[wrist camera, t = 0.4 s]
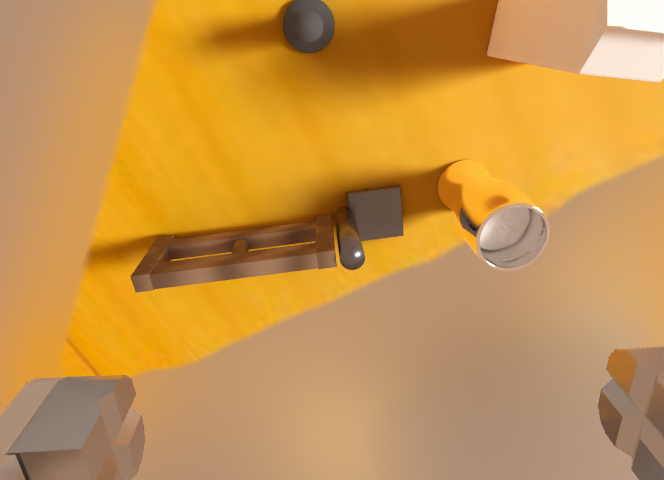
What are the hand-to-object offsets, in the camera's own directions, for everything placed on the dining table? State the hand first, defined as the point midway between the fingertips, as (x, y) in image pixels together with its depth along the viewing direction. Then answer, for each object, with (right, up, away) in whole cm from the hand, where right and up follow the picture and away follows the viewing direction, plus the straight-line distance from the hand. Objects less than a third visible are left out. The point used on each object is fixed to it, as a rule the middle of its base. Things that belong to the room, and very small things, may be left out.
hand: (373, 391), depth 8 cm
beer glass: (+14, +9, +48) cm, 50 cm away
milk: (+18, +24, +41) cm, 51 cm away
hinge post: (+3, +6, +48) cm, 49 cm away
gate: (-11, +3, +48) cm, 49 cm away
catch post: (-3, +24, +40) cm, 46 cm away
